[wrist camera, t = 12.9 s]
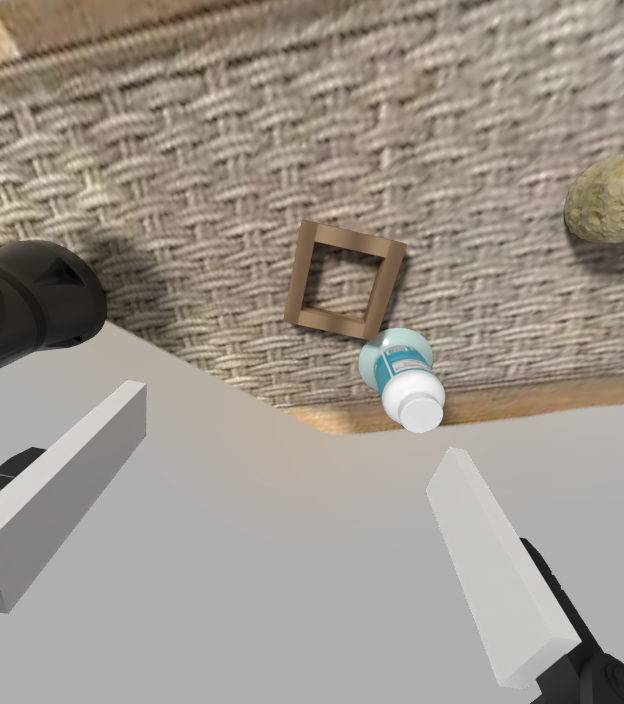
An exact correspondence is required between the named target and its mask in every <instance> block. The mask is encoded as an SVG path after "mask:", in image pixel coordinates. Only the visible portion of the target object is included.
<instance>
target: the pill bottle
mask: <svg viewBox="0 0 624 704" xmlns="http://www.w3.org/2000/svg"><path fill="white" fill-rule="evenodd" d="M372 367H373V373H374V377H375V380H376V383H377V387H378V390H379V393H380V397H381V400H382V403H383V406H384V409H385V411H386V413H387V414H388V416H389V417H390V418H391V419H393V420H394V421H396V422H397V423H400V424H402V425H403V426H404V427H405V428H406V429H407V430H409V431H411V432H414V433H424V432H428V431H431V430H433V429H434V428H436V427H437V426H438V425H439V424H440V422H441V420H442V417H443V410H442V408H443V406H444V403H445V391H444V388H443V386H442V384H441V383H440V381H439V379H438V378H437V377H436V375H435V374H434V372H433V371H432V369H431V368H430V366H429V365H428V363H427V362H426V361H425V359H424V358H423V356H422V355H421V353H420V352H419V351H418V350H417V349H416V348H415V347H414V346H412V345H410V344H407V343H403V342H396V343H391V344H388V345H386V346H385V347H383V348H382V349H381V350H379V352H378V353H377V354H376V356H375V358H374V360H373V366H372Z"/></svg>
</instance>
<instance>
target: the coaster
mask: <svg viewBox="0 0 624 704" xmlns="http://www.w3.org/2000/svg"><path fill="white" fill-rule="evenodd" d="M396 342H403V343H407V344H410V345H412V346H414V347H415V348H416V349H417V350H418V351H419V352H420V353H421V355H422V356H423V358H424V359H425V361H426V362H427V363H428V365H429V366H430V368H431V367H432V363H433V354H432V350H431V347H430V345H429V343H428V342H427V340H426V339H425V338H424V337H423V336H422V335H420V334H419V333H417V332H416V331H413V330H411V329H408V328H400V327H396V328H389V329H385V330H382V331H380V332H378V335H377V338H376V341H371V340H368V341H367V342H366V343H365V344H364V346H363V348H362V349H361V352H360V355H359V360H358V366H359V371H360V374H361V376H362V378H363V380H364V381H365V383H366V384H367V385H368V386H370V387H371V388H373V389H374V390H376V391H379V390H378V387H377V383H376V380H375V377H374V373H373V367H372V366H373V360H374V358H375V356H376V354H377V353H378V352H379V350H381V349H382V348H383V347H385V346H386V345H388V344H391V343H396Z"/></svg>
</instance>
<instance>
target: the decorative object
mask: <svg viewBox="0 0 624 704" xmlns="http://www.w3.org/2000/svg"><path fill="white" fill-rule="evenodd" d="M564 215H565V221H566V225H568V227H569V230H570V233H571V234H577V235H578V236H579V237H580V238H581V239H586V240H588V241H590V242H593V243H604V244H606V243H623V242H624V154H620V155H616V156H612V157H609V158H607V159H604V160H602V161H600V162H598V163H596V164H594V165H592V166H591V167H589V168H588V169H587V170H586V171H585V172H584V173H583V174H582V175H581V176H580V177H579V178H578V179H577V180H576V181H575V182H574V183H573V185H572V186H571V187H570V190H569V194H568V196H567V197H566V201H565V208H564Z"/></svg>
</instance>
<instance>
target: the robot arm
mask: <svg viewBox="0 0 624 704" xmlns="http://www.w3.org/2000/svg"><path fill="white" fill-rule="evenodd" d="M106 314H107V304H106V298H105V295H104V292H103V289H102V287H101V285H100V283H99V281H98V279H97V277H96V276H95V274H94V273H93V272H92V270H91V269H90V268H89V267H88V266H87V265H86V264H85V263H84V262H83V261H82V260H81V259H80V258H79V257H78V256H76V255H75V254H74V253H72V252H71V251H69V250H68V249H66V248H64V247H62V246H60V245H57V244H55V243H52V242H48V241H43V240H27V241H17V242H12V243H8V244H6V245H3V246H1V247H0V368H2V367H3V366H6V365H8V364H10V363H12V362H14V361H16V360H18V359H20V358H22V357H24V356H26V355H28V354H30V353H32V352H36V351H44V350H53V349H60V348H69V347H73V346H76V345H79V344H81V343H83V342H85V341H87V340H89V339H91V338H92V337H94V336H95V335H96V334H97V333H98V332H99V331H100V330H101V329H102V327H103V325H104V323H105V319H106ZM145 436H146V383H141V382H137V381H132V380H127V381H125V382H124V383H123V384H122V385H121V386H119V387H118V388H117V389H116V390H115V391H114V392H113V393H111V394H110V395H109V396H108V397H107V398H106V399H105V400H103V401H102V402H101V403H100V404H99V405H98V406H97V407H96V408H95V409H93V410H92V411H91V412H90V413H89V414H88V415H87V416H85V417H84V418H83V419H82V420H81V421H80V422H78V423H77V424H76V425H75V426H74V427H73V428H72V429H70V430H69V431H68V432H67V433H66V434H65V435H64V436H62V437H61V438H60V439H59V440H58V441H57V442H56V443H55V444H53V445H52V446H51V447H50V448H49V449H48V450H45V449H40V448H35V447H31V448H29V449H28V450H25V451H23V452H22V453H19V454H17V455H15V456H13V457H11V458H10V459H9V460H7V461H6V462H5V463H3V464H2V465H1V466H0V613H8V614H9V612H10V611H11V610H12V608H13V607H14V606H15V605H16V603H17V602H18V601H19V599H20V598H21V597H22V595H23V594H24V593H25V592H26V590H27V589H28V588H29V586H30V585H31V584H32V582H33V581H34V580H35V579H36V577H37V576H38V575H39V573H40V572H41V571H42V569H43V568H44V567H45V566H46V564H47V563H48V562H49V560H50V559H51V558H52V557H53V555H54V554H55V553H56V551H57V550H58V549H59V547H60V546H61V545H62V544H63V542H64V541H65V540H66V538H67V537H68V536H69V535H70V533H71V532H72V531H73V529H74V528H75V527H76V525H77V524H78V523H79V522H80V520H81V519H82V518H83V516H84V515H85V514H86V513H87V511H88V510H89V509H90V507H91V506H92V505H93V503H94V502H95V501H96V500H97V498H98V497H99V496H100V494H101V493H102V492H103V490H104V489H105V488H106V487H107V485H108V484H109V483H110V482H111V480H112V479H113V478H114V476H115V475H116V474H117V472H118V471H119V470H120V469H121V467H122V466H123V465H124V463H125V462H126V461H127V460H128V458H129V457H130V456H131V454H132V453H133V451H134V450H135V449H136V448H137V447H138V445H139V444H140V443H141V441H142V440H143V439H144V437H145ZM425 491H426V494H427V496H428V499H429V502H430V504H431V507H432V509H433V512H434V515H435V517H436V520H437V523H438V525H439V528H440V531H441V533H442V536H443V539H444V541H445V544H446V546H447V549H448V552H449V555H450V557H451V560H452V563H453V565H454V568H455V570H456V573H457V576H458V578H459V581H460V584H461V586H462V589H463V592H464V594H465V597H466V600H467V602H468V605H469V608H470V610H471V613H472V616H473V618H474V621H475V624H476V626H477V629H478V632H479V634H480V637H481V639H482V642H483V645H484V648H485V650H486V653H487V655H488V658H489V661H490V664H491V666H492V669H493V671H494V674H495V677H496V680H497V682H498V685H499V686H502V687H509V688H516V689H523V690H524V689H525V688H526V687H528V686H529V685H530V684H531V683H533V682H534V681H535V680H536V681H537V683H538V685H539V687H540V690H541V692H542V695H540V696H539V697H538V698H537V699H535V700H534V701H533V702H531V703H530V704H624V664H623V663H622V662H621V661H619V660H618V659H616V658H614V657H613V656H611V655H610V654H606V653H604V652H603V650H602V649H601V647H600V646H599V645H598V643H597V642H596V640H595V638H594V637H593V635H592V634H591V632H590V631H589V629H588V627H587V626H586V624H585V623H584V621H583V620H582V618H581V617H580V615H579V614H578V612H577V610H576V609H575V607H574V606H573V604H572V603H571V601H570V599H569V598H568V596H567V595H566V593H565V592H564V590H562V589H561V585H560V584H559V582H558V581H557V579H556V578H555V576H554V575H552V573H551V572H552V571H551V570H550V568H549V567H548V565H547V564H546V562H545V560H544V559H543V557H542V556H541V555H540V553H539V552H538V551H537V550H536V549H535V548H534V547H533V546H532V545H531V544H530V543H529V542H528V540H527V539H525V538H519V537H518V536H517V534H516V532H515V531H514V529H513V527H512V526H511V524H510V522H509V521H508V519H507V517H506V516H505V514H504V512H503V511H502V509H501V508H500V506H499V504H498V503H497V501H496V499H495V498H494V496H493V495H492V493H491V491H490V490H489V488H488V486H487V484H486V483H485V481H484V480H483V478H482V476H481V475H480V473H479V472H478V470H477V468H476V467H475V465H474V463H473V462H472V460H471V458H470V457H469V455H468V453H467V452H466V450H463V449H458V448H453V447H449V448H448V450H447V452H446V453H445V455H444V457H443V459H442V461H441V463H440V464H439V466H438V468H437V470H436V472H435V474H434V475H433V477H432V479H431V481H430V483H429V484H428V486H427V488H426V490H425Z"/></svg>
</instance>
